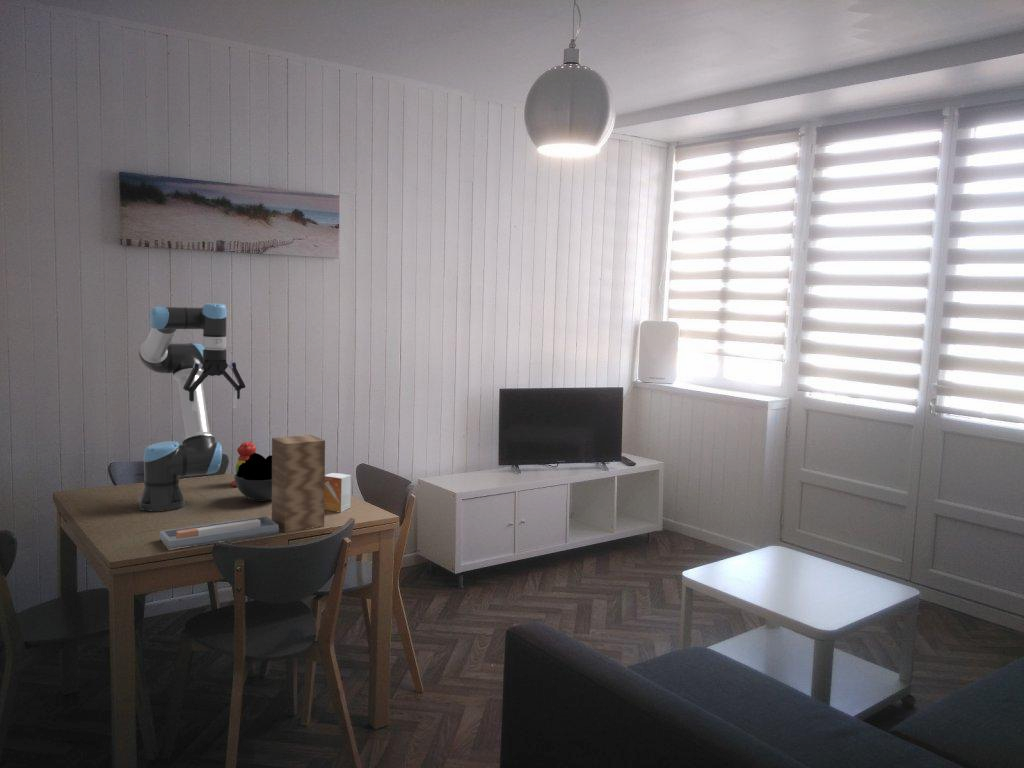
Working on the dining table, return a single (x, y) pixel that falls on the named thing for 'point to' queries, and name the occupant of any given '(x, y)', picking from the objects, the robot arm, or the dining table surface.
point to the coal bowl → (255, 477)
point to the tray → (265, 529)
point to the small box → (337, 492)
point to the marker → (217, 529)
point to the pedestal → (298, 482)
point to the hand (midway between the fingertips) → (214, 409)
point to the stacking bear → (244, 455)
